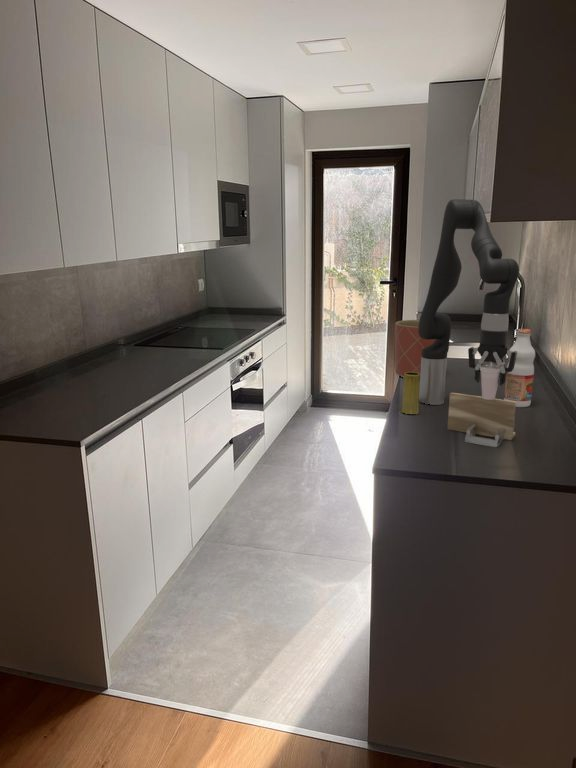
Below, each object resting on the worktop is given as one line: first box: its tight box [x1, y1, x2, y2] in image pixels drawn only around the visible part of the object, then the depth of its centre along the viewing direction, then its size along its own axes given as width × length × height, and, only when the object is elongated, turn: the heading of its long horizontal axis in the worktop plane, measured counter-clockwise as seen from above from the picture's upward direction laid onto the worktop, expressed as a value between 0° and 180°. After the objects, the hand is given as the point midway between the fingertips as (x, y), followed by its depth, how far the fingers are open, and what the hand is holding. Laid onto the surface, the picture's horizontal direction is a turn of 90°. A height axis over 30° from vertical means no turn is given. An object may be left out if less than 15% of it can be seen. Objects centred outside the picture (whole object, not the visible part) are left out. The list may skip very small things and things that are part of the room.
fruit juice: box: [503, 328, 536, 408], centre depth 217 cm, size 9×9×28 cm
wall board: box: [446, 392, 517, 441], centre depth 187 cm, size 5×20×12 cm, turn 58°
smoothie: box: [480, 362, 501, 400], centre depth 177 cm, size 6×6×14 cm
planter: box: [394, 319, 436, 377], centre depth 262 cm, size 23×23×24 cm
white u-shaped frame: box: [464, 423, 505, 448], centre depth 181 cm, size 9×10×4 cm
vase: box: [400, 372, 420, 415], centre depth 208 cm, size 6×6×14 cm
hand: (489, 383), depth 178 cm, fingers closed on smoothie, 6 cm apart
